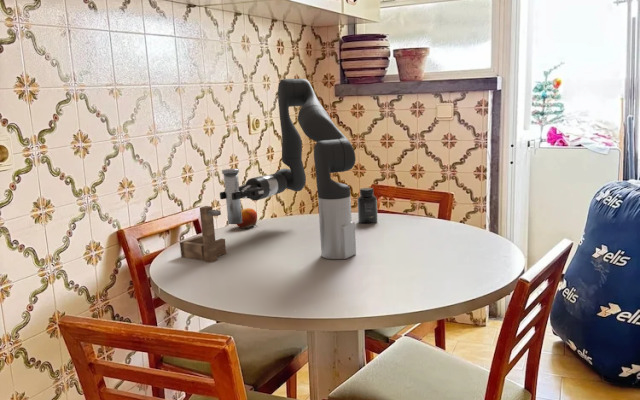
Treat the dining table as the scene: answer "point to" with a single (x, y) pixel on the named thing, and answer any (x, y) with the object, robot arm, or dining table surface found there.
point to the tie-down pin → (231, 187)
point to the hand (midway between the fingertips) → (226, 196)
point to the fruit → (248, 218)
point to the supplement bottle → (367, 206)
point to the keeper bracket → (204, 239)
